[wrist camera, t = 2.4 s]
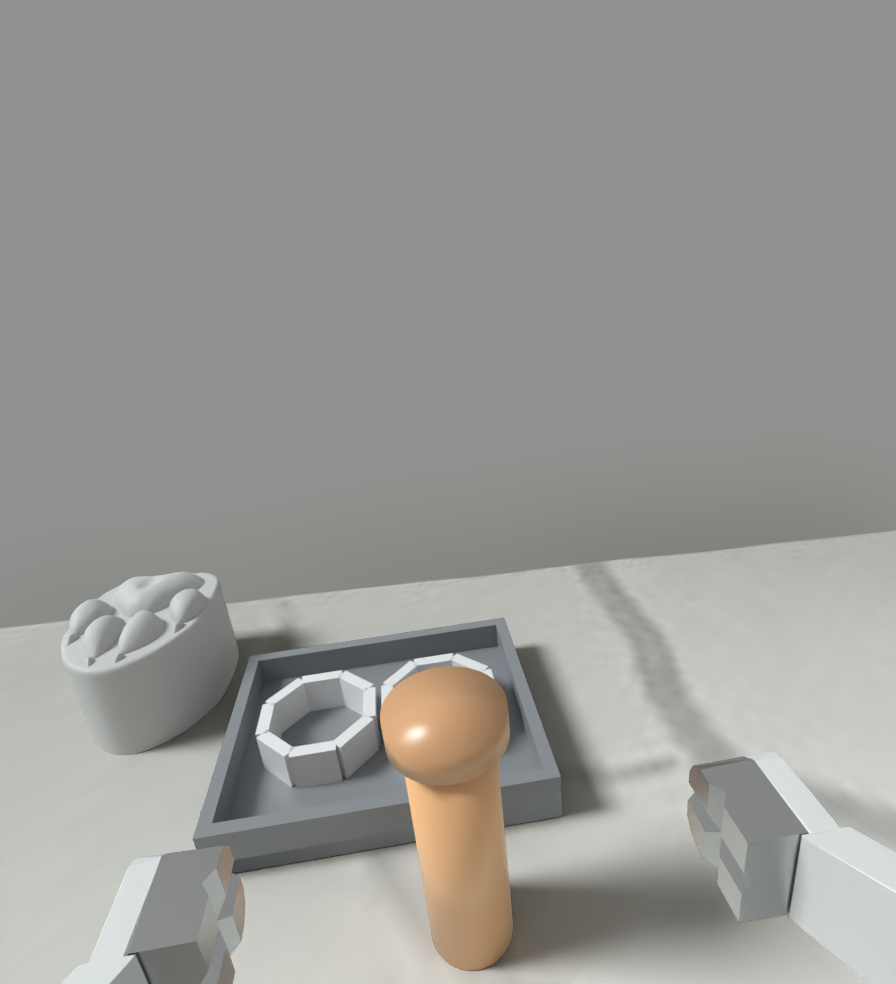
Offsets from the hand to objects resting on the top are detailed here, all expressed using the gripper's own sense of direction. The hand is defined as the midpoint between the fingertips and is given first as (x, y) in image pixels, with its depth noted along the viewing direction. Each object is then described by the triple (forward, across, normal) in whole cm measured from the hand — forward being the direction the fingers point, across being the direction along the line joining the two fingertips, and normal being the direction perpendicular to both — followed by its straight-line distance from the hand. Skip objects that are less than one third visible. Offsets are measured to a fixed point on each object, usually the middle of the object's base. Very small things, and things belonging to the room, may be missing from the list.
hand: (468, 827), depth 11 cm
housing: (+25, +4, +21) cm, 33 cm away
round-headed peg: (+12, 0, +21) cm, 24 cm away
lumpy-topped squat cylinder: (+34, +22, +21) cm, 46 cm away
